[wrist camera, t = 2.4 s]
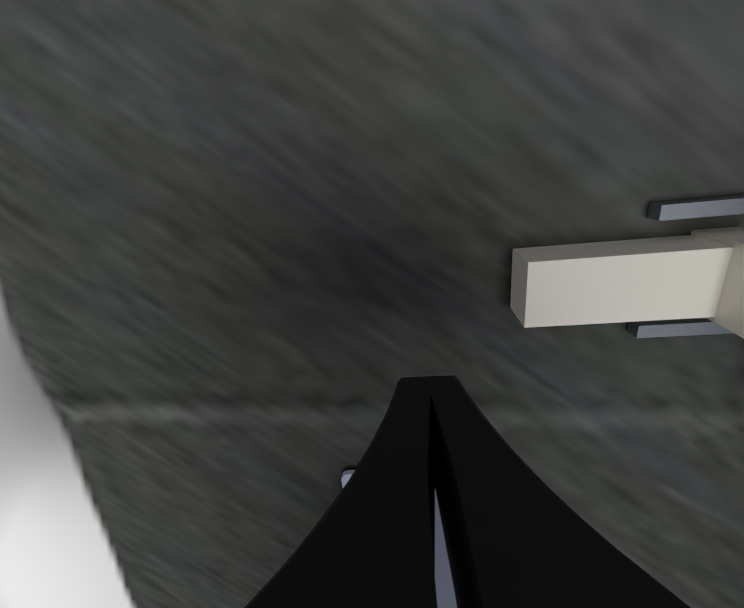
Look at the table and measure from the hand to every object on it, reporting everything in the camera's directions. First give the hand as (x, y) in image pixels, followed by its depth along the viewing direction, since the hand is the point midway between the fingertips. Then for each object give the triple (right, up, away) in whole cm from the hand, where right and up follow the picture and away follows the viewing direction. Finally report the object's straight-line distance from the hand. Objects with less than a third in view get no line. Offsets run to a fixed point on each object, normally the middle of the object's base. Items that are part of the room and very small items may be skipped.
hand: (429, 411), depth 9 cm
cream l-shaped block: (+10, +4, +7) cm, 13 cm away
